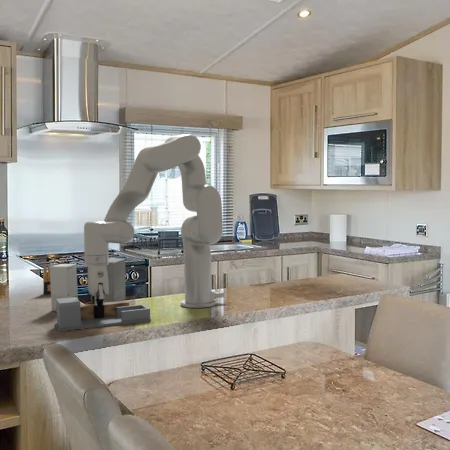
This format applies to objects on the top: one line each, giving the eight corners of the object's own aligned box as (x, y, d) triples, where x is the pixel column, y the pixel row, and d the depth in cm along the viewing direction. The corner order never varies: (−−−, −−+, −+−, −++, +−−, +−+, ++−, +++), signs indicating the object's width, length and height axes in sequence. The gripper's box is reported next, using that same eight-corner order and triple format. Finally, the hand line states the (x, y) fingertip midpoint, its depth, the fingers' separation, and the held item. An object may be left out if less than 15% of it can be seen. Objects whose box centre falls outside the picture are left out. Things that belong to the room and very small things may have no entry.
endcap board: (143, 315, 184) (142, 290, 184) (151, 321, 176) (150, 295, 176) (55, 325, 173) (54, 298, 172) (59, 331, 165) (57, 304, 164)
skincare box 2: (111, 298, 212) (110, 257, 211) (127, 300, 209) (126, 258, 208) (98, 303, 204) (97, 260, 203) (115, 304, 202) (113, 261, 201)
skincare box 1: (67, 311, 191) (66, 266, 190) (50, 311, 193) (48, 266, 191) (78, 306, 199) (77, 263, 198) (61, 306, 201) (60, 263, 200)
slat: (126, 315, 186) (126, 300, 185) (129, 317, 183) (129, 302, 182) (68, 321, 178) (67, 306, 178) (69, 324, 175) (69, 308, 174)
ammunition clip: (43, 294, 223) (42, 264, 222) (43, 294, 224) (42, 264, 223) (71, 292, 226) (70, 263, 226) (70, 291, 228) (69, 262, 227)
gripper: (114, 262, 173) (115, 320, 174) (102, 256, 188) (103, 310, 189) (90, 263, 170) (91, 323, 171) (79, 257, 185) (81, 312, 186)
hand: (97, 316), depth 180 cm, fingers closed on slat, 3 cm apart
